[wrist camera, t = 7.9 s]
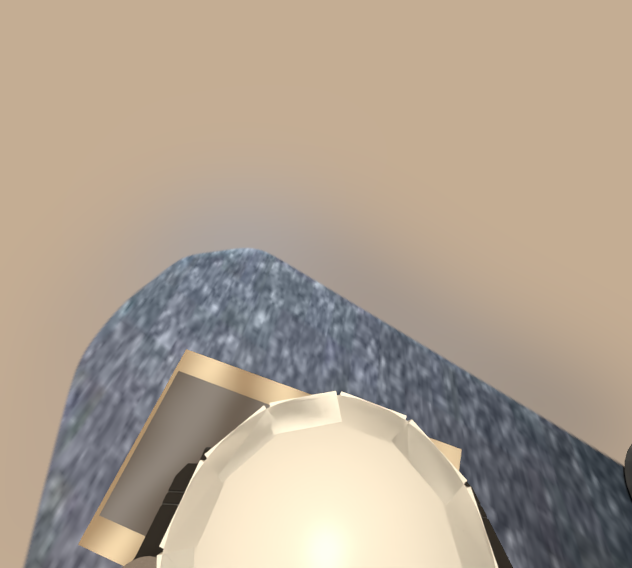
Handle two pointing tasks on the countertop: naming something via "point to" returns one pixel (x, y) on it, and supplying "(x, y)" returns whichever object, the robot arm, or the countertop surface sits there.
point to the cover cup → (326, 495)
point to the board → (182, 446)
